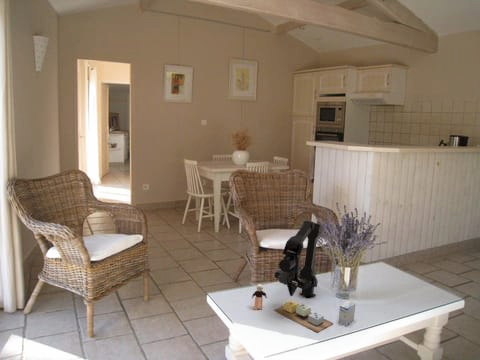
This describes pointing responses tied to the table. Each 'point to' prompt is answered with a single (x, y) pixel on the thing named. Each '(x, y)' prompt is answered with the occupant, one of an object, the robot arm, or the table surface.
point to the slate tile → (315, 318)
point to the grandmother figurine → (258, 297)
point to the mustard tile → (290, 306)
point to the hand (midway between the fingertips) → (291, 295)
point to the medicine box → (346, 313)
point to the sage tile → (303, 309)
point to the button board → (303, 320)
